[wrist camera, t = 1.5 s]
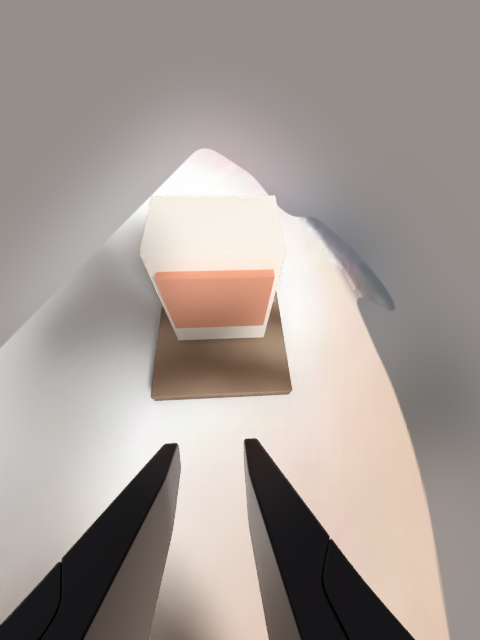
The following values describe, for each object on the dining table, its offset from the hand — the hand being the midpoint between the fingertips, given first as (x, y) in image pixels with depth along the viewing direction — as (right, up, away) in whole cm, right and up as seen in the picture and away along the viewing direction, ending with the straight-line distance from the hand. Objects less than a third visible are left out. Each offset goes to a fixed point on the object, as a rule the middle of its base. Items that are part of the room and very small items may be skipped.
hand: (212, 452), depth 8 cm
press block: (-1, +5, +16) cm, 17 cm away
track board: (-1, +4, +18) cm, 19 cm away
